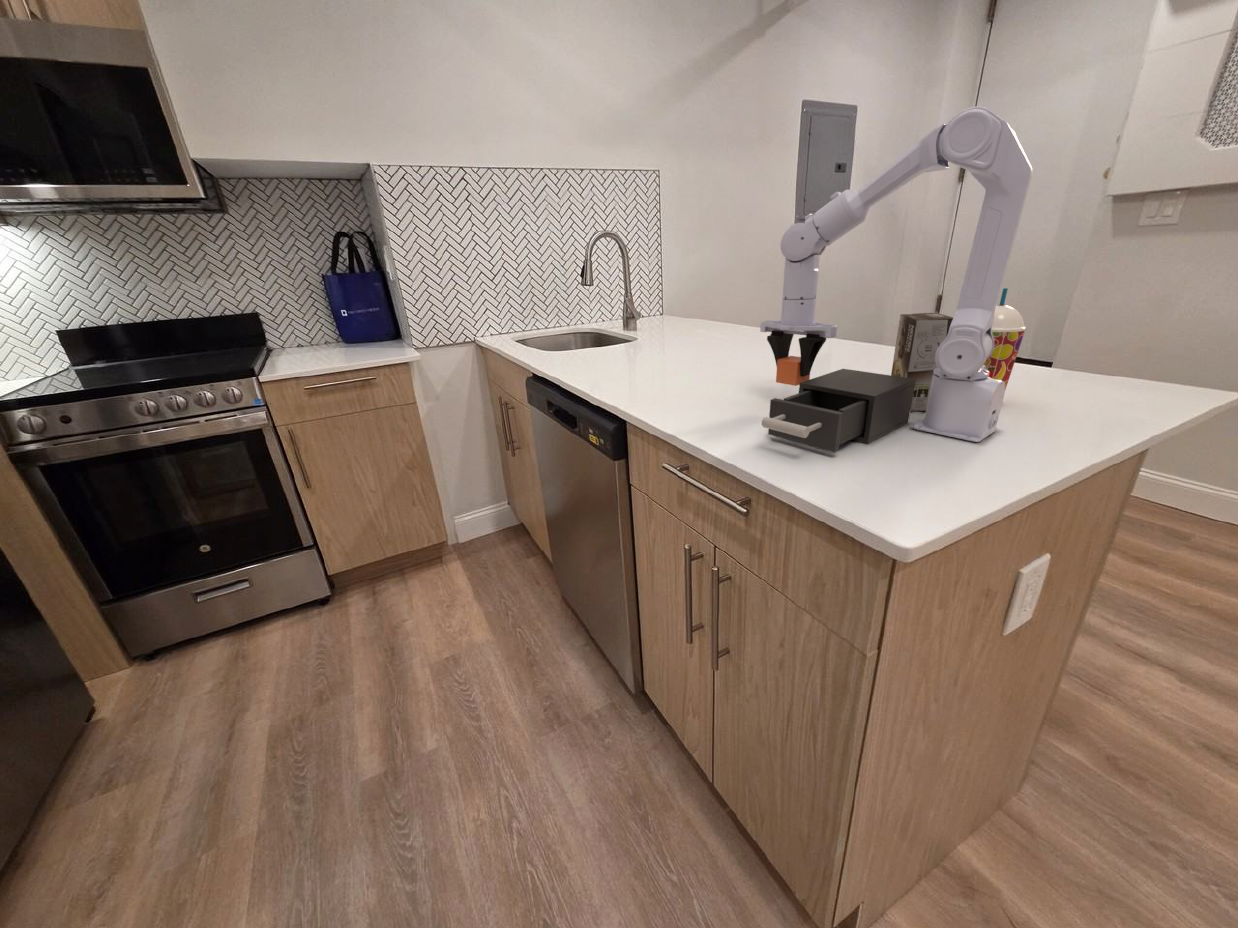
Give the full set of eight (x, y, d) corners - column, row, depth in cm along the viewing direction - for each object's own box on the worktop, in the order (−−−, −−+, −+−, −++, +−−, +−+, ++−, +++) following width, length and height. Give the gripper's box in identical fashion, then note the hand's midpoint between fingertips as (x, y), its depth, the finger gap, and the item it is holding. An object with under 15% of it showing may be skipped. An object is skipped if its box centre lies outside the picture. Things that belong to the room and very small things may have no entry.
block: (809, 381, 95) (811, 358, 94) (795, 386, 93) (797, 362, 91) (789, 378, 98) (791, 355, 97) (775, 382, 96) (777, 359, 94)
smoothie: (944, 396, 98) (966, 287, 90) (991, 395, 97) (1018, 285, 89) (965, 408, 90) (991, 291, 82) (1016, 408, 89) (1048, 289, 81)
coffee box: (939, 411, 89) (958, 318, 83) (900, 411, 91) (916, 319, 84) (922, 397, 98) (938, 311, 91) (886, 397, 99) (899, 312, 93)
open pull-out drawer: (814, 462, 70) (819, 422, 67) (748, 442, 78) (750, 406, 76) (877, 431, 79) (882, 396, 77) (811, 416, 88) (815, 384, 85)
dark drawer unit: (867, 444, 77) (875, 396, 74) (795, 426, 86) (799, 382, 83) (908, 423, 85) (916, 379, 82) (837, 408, 94) (842, 368, 91)
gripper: (751, 299, 93) (748, 372, 98) (824, 302, 82) (816, 383, 87) (774, 295, 97) (770, 365, 102) (846, 297, 86) (837, 376, 91)
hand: (793, 373), depth 95 cm, fingers closed on block, 4 cm apart
